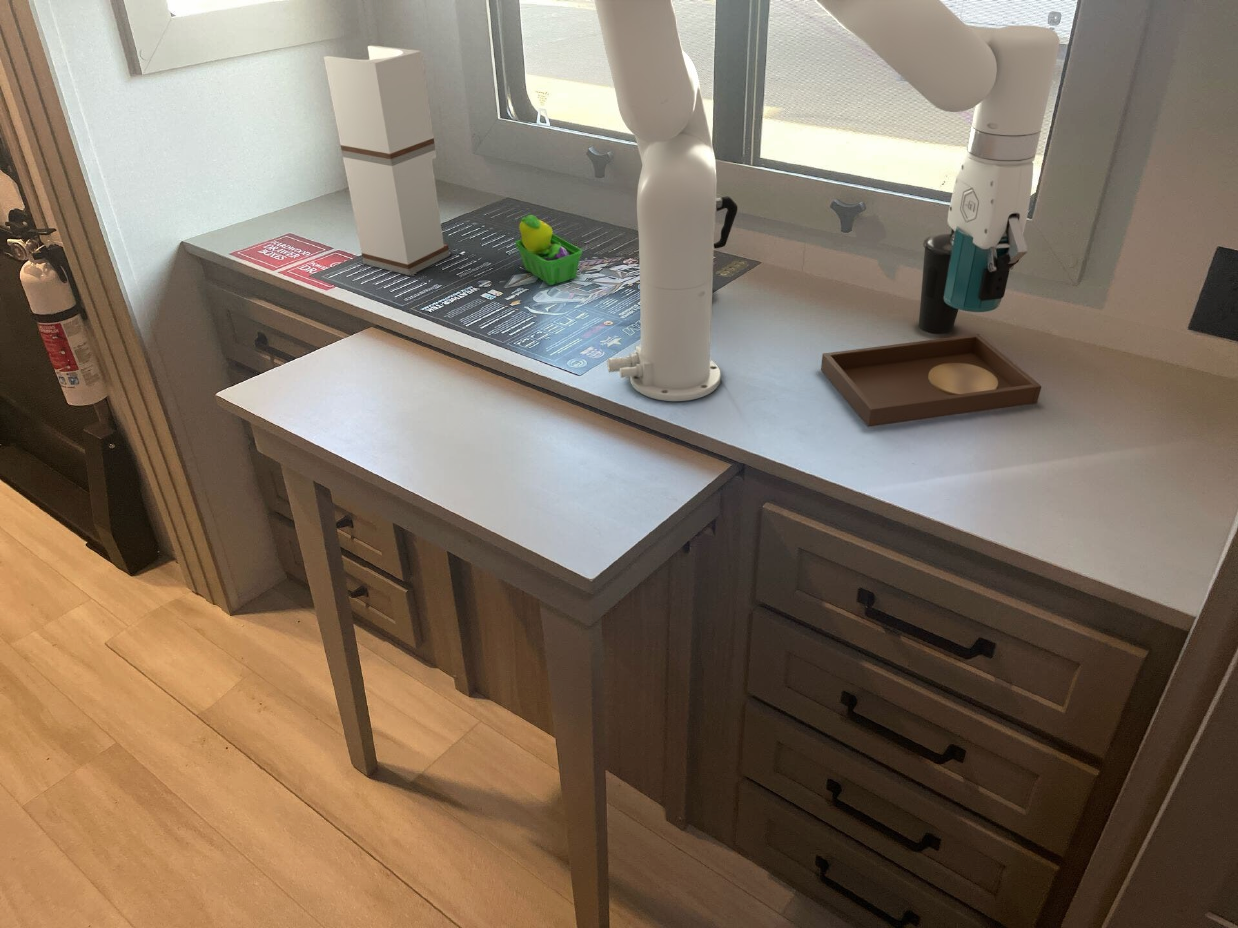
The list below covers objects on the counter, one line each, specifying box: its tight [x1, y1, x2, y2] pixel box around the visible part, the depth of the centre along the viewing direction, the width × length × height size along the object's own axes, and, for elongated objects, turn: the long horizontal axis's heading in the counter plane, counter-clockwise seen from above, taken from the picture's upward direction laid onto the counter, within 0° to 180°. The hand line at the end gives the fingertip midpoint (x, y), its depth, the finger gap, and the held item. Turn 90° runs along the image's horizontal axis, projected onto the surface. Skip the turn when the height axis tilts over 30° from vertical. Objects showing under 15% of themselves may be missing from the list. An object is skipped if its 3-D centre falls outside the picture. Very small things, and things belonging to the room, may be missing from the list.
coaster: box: [928, 363, 998, 395], centre depth 125 cm, size 9×9×1 cm
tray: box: [820, 333, 1043, 428], centre depth 123 cm, size 24×16×3 cm, turn 102°
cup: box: [943, 226, 1008, 313], centre depth 115 cm, size 7×7×10 cm
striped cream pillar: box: [323, 45, 451, 276], centre depth 158 cm, size 11×11×35 cm
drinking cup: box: [918, 229, 960, 335], centre depth 133 cm, size 8×8×20 cm
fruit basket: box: [514, 214, 583, 286], centre depth 157 cm, size 11×9×11 cm
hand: (974, 285), depth 117 cm, fingers closed on cup, 7 cm apart
